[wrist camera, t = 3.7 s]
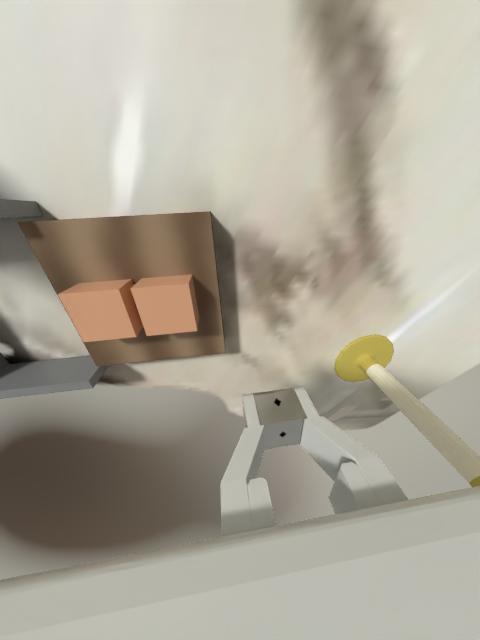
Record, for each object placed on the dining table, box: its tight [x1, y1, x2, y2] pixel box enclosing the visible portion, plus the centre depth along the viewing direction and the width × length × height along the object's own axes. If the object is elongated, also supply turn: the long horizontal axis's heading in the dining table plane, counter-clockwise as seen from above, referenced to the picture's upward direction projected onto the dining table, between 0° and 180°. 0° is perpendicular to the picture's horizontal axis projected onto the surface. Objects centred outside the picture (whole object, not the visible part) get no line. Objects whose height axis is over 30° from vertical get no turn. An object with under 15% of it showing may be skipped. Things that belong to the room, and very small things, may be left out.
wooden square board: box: [18, 212, 225, 366], centre depth 22 cm, size 16×16×3 cm
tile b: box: [58, 279, 143, 342], centre depth 19 cm, size 5×5×3 cm
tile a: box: [130, 274, 199, 336], centre depth 20 cm, size 5×5×3 cm
